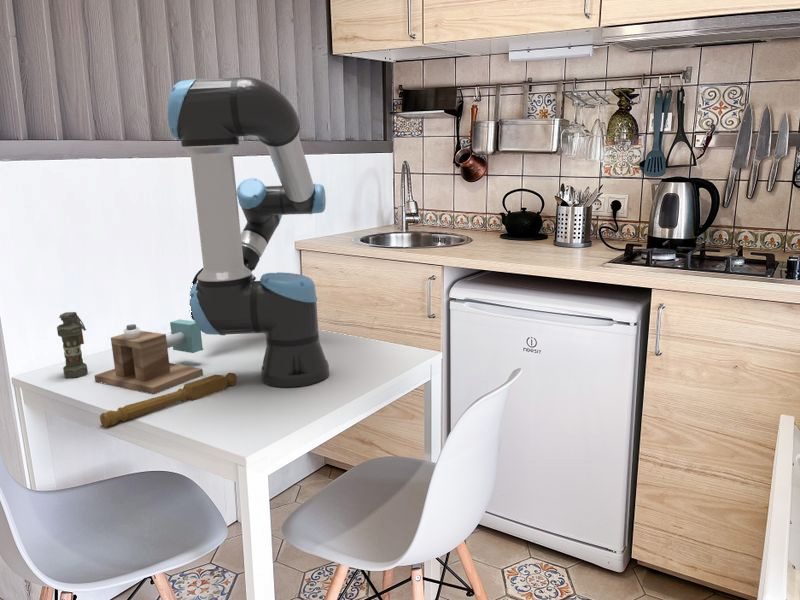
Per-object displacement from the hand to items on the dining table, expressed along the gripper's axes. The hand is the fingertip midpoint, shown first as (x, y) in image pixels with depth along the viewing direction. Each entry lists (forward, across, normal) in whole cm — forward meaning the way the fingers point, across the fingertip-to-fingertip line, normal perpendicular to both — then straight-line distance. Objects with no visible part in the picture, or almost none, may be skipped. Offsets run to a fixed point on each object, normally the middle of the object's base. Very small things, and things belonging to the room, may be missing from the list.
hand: (207, 327), depth 170 cm
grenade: (+22, +19, +11) cm, 31 cm away
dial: (+13, 0, +18) cm, 22 cm away
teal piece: (+11, 0, +5) cm, 12 cm away
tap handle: (+25, -19, +14) cm, 34 cm away
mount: (+19, 0, +8) cm, 20 cm away
